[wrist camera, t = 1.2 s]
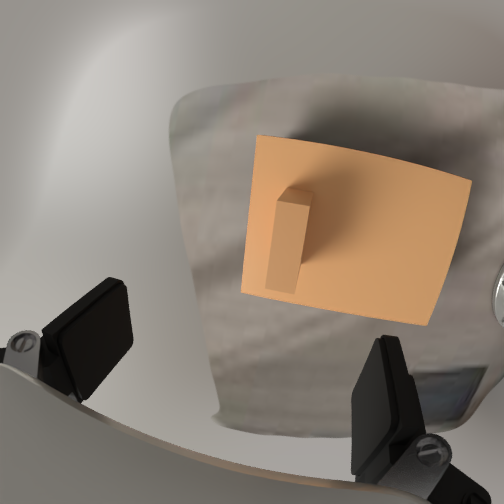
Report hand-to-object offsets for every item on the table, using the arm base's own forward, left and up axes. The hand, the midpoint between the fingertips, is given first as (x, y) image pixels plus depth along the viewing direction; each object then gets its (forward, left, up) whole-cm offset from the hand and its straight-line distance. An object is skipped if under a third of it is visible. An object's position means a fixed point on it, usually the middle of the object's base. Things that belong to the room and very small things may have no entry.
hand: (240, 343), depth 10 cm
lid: (-5, 0, -17) cm, 18 cm away
